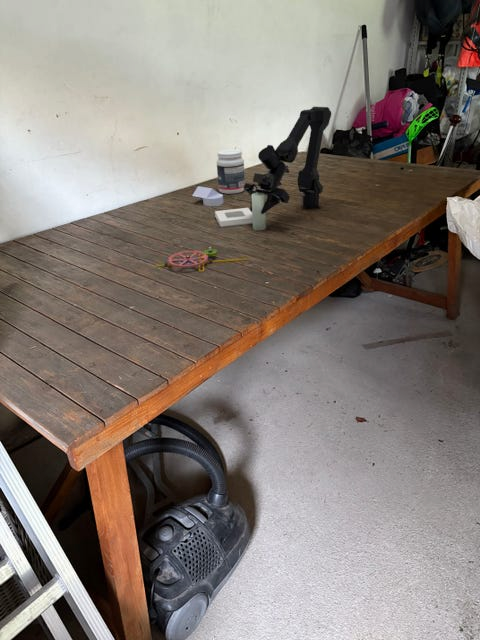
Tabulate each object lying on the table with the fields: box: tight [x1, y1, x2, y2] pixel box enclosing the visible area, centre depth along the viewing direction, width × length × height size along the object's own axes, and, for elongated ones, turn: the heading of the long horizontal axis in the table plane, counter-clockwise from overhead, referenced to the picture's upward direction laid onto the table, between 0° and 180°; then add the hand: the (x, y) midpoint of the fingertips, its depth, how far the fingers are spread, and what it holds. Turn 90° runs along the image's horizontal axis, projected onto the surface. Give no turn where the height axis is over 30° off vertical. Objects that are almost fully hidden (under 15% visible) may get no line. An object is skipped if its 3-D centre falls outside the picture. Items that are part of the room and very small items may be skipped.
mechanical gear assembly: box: [155, 246, 248, 273], centre depth 164 cm, size 30×4×15 cm
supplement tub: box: [216, 149, 246, 195], centre depth 238 cm, size 13×13×18 cm
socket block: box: [214, 207, 253, 228], centre depth 202 cm, size 14×14×2 cm
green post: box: [252, 193, 267, 231], centre depth 189 cm, size 5×5×13 cm
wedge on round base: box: [192, 185, 224, 207], centre depth 225 cm, size 9×7×13 cm
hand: (256, 212), depth 188 cm, fingers open, 5 cm apart
